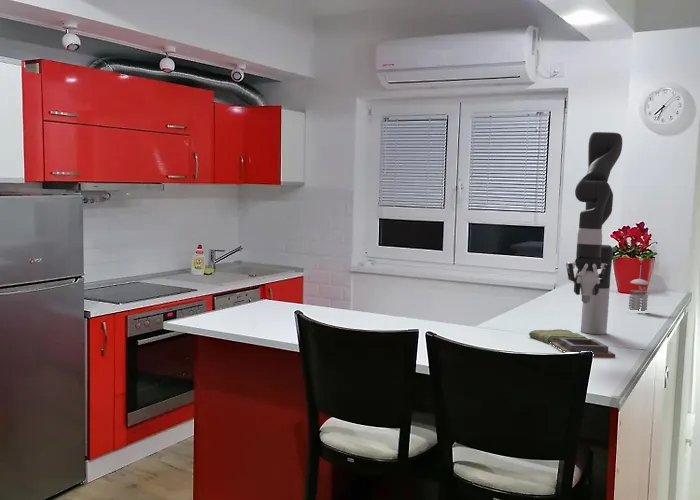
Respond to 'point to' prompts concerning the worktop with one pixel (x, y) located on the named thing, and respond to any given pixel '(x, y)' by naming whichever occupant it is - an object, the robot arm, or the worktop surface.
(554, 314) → the worktop surface
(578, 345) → the socket stand
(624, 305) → the worktop surface
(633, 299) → the french press
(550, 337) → the washcloth
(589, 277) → the lightbulb
